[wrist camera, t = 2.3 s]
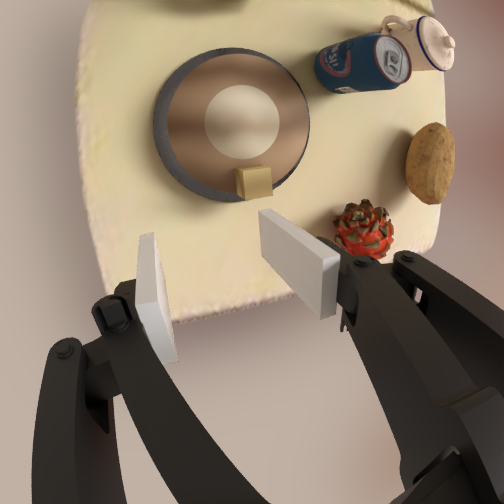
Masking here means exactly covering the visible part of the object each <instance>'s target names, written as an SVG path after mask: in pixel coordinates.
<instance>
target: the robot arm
mask: <svg viewBox="0 0 504 504" xmlns="http://www.w3.org/2000/svg"><path fill="white" fill-rule="evenodd" d="M258 215H259V227H260V240H261V252H262V257H263V258H264V259H265V260H266V261H267V262H268V263H269V264H270V265H271V267H272V268H273V269H274V270H275V271H276V272H277V273H278V274H279V275H280V276H281V278H282V279H283V280H284V281H285V282H286V283H287V284H288V285H289V286H290V287H291V289H292V290H293V291H294V292H295V293H296V294H297V295H298V296H299V297H300V298H301V299H302V301H303V302H304V303H305V304H306V305H307V306H308V307H309V308H310V309H311V310H312V312H313V313H314V314H315V315H316V316H317V317H318V318H319V319H320V320H321V319H324V318H327V317H330V316H332V315H335V314H336V306H337V303H339V304H340V305H341V306H342V307H343V310H342V317H341V326H340V331H341V332H343V328H344V326H345V325H346V327H347V331H349V333H350V335H351V337H352V340H353V342H354V344H355V346H356V348H357V350H358V352H359V355H360V357H361V359H362V361H363V363H364V366H365V368H366V370H367V373H368V375H369V377H370V379H371V382H372V384H373V386H374V389H375V391H376V393H377V396H378V398H379V401H380V403H381V405H382V408H383V410H384V412H385V415H386V417H387V420H388V423H389V425H390V428H391V430H392V433H393V435H394V438H395V440H396V443H397V445H398V448H399V451H400V454H401V461H400V475H401V479H402V483H403V485H404V488H405V492H404V493H402V494H401V495H399V496H398V497H397V498H396V499H394V500H393V501H392V502H391V503H390V504H504V311H503V310H502V309H500V308H499V307H498V306H496V305H495V304H494V303H492V302H490V301H489V300H488V299H486V298H485V297H484V296H482V295H481V294H479V293H478V292H476V291H475V290H474V289H472V288H470V287H469V286H468V285H466V284H465V283H463V282H462V281H460V280H459V279H457V278H455V277H454V276H452V275H451V274H449V273H447V272H446V271H445V270H443V269H441V268H440V267H438V266H437V265H435V264H433V263H432V262H430V261H428V260H427V259H425V258H424V257H422V256H420V255H419V254H416V253H414V252H411V251H408V250H407V251H406V250H403V251H398V252H396V253H395V254H394V257H393V263H388V264H381V263H380V262H379V261H378V260H377V259H375V258H374V257H371V256H367V255H355V256H352V255H351V254H349V253H348V252H346V251H345V250H343V249H342V248H339V246H337V245H336V244H334V243H332V242H331V241H329V240H328V239H325V238H322V237H314V236H312V235H311V234H309V233H308V232H306V231H305V230H303V229H301V228H300V227H298V226H297V225H295V224H294V223H292V222H291V221H289V220H288V219H286V218H285V217H283V216H282V215H280V214H278V213H277V212H275V211H274V210H272V209H266V210H261V211H258ZM417 288H419V289H420V290H422V291H423V292H422V296H421V299H420V302H419V303H418V302H416V301H415V296H416V292H417ZM92 315H93V317H94V319H95V322H96V324H97V326H98V328H99V330H100V332H101V335H102V336H101V337H100V338H98V339H96V340H94V341H92V342H90V343H87V344H85V345H83V346H82V344H81V342H80V341H79V340H78V339H76V338H65V339H62V340H60V341H58V342H57V343H55V344H54V345H53V347H52V348H51V349H50V351H49V353H48V357H47V361H46V365H45V370H44V374H43V379H42V384H41V389H40V396H39V401H38V407H37V414H36V421H35V430H34V439H33V453H32V504H127V501H126V497H125V492H124V487H123V481H122V476H121V469H120V463H119V456H118V448H117V440H116V431H115V419H114V405H113V397H115V396H117V395H119V394H121V393H122V396H123V398H124V400H125V403H126V405H127V408H128V410H129V412H130V415H131V417H132V419H133V421H134V424H135V426H136V428H137V430H138V432H139V434H140V437H141V439H142V441H143V443H144V445H145V447H146V449H147V450H148V452H149V454H150V456H151V458H152V460H153V462H154V464H155V465H156V467H157V469H158V471H159V472H160V474H161V476H162V478H163V479H164V481H165V483H166V485H167V486H168V488H169V489H170V491H171V493H172V494H173V496H174V497H175V499H176V500H177V502H178V503H179V504H270V503H269V502H268V501H266V500H265V499H264V498H263V497H262V496H261V495H260V494H259V493H258V492H257V491H256V490H255V488H254V487H253V486H252V485H251V484H250V483H249V482H248V481H247V480H246V478H245V477H244V476H243V475H242V474H241V473H240V472H239V470H238V469H237V468H236V467H235V466H234V465H233V463H232V462H231V461H230V460H229V459H228V457H227V456H226V455H225V454H224V452H223V451H222V450H221V449H220V447H219V446H218V445H217V444H216V442H215V441H214V440H213V439H212V437H211V436H210V434H209V433H208V432H207V430H206V429H205V428H204V426H203V425H202V424H201V422H200V421H199V420H198V418H197V417H196V415H195V414H194V412H193V411H192V410H191V408H190V407H189V405H188V404H187V402H186V401H185V399H184V398H183V396H182V395H181V393H180V392H179V390H178V389H177V387H176V386H175V384H174V383H173V381H172V379H171V378H170V376H169V375H168V373H167V371H166V370H165V368H164V366H163V365H165V364H169V363H174V362H178V357H177V351H176V346H175V340H174V334H173V329H172V323H171V317H170V310H169V304H168V297H167V290H166V283H165V277H164V273H163V269H162V265H161V261H160V257H159V253H158V248H157V244H156V240H155V235H154V232H153V233H148V234H144V235H140V239H139V249H138V261H137V275H136V279H133V280H129V281H124V282H120V283H119V285H118V286H117V287H116V288H115V291H114V294H112V295H108V296H106V297H104V298H102V299H100V300H99V301H97V302H96V303H95V304H94V306H93V307H92ZM459 453H460V454H459Z"/></svg>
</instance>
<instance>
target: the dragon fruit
mask: <svg viewBox="0 0 504 504" xmlns="http://www.w3.org/2000/svg"><path fill="white" fill-rule="evenodd" d="M386 214H387V215H388V216H389V213H388V211H387V210H386V209H385V208H383V209H382V207H378V208H375V209H373V206H372V204H371V203H370V201H369V200H368V199H363V200H361V204H360V205H357V204H354V203H349V204H347V205H346V208H345V210H344V212H343V217H337V216H336V217H335V219H334V221H333V223H334V226H335V228H336V230H337V231H339V232H340V234H339V235H336V236H335V242H336V243H338V244H339V245H340V246H341V247H342V248H344V249H346V250H347V251H348V252H349V253H350V254H351V255H352V256H355V255H367V256H371V257H374V258H375V259H381V258H383V257H385V256H386V252H387V251H388V250H389V249H390V245H391V243H392V242H393V241H394V239H393V238H392V237H391V236H392V235H393V234H394V228H393V225H392V224H391V219H389V221H388V222H387V221H386Z"/></svg>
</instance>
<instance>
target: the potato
mask: <svg viewBox="0 0 504 504" xmlns="http://www.w3.org/2000/svg"><path fill="white" fill-rule="evenodd" d="M454 156H455V143H454V140H453V137H452V134H451V132H450V131H449V129H448V128H447V127H445V126H443V125H441V124H439V123H437V122H435V123H431V124H428V125H426V126H425V127H423V128H422V129H420V130H419V131H418V132H417V133H416V134H415V136H414V137H413V139H412V141H411V143H410V146H409V149H408V153H407V157H406V167H405V173H406V181H407V184H408V187H409V189H410V191H411V192H412V193H413V194H414V195H415V196H416V197H417V198H419V199H420V200H421V201H422V202H424V203H426V204H428V205H431V204H440V203H441V202H442V201H443V199H444V198H445V195H446V193H447V190H448V187H449V184H450V181H451V178H452V176H453V173H454V165H455V164H454Z"/></svg>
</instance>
